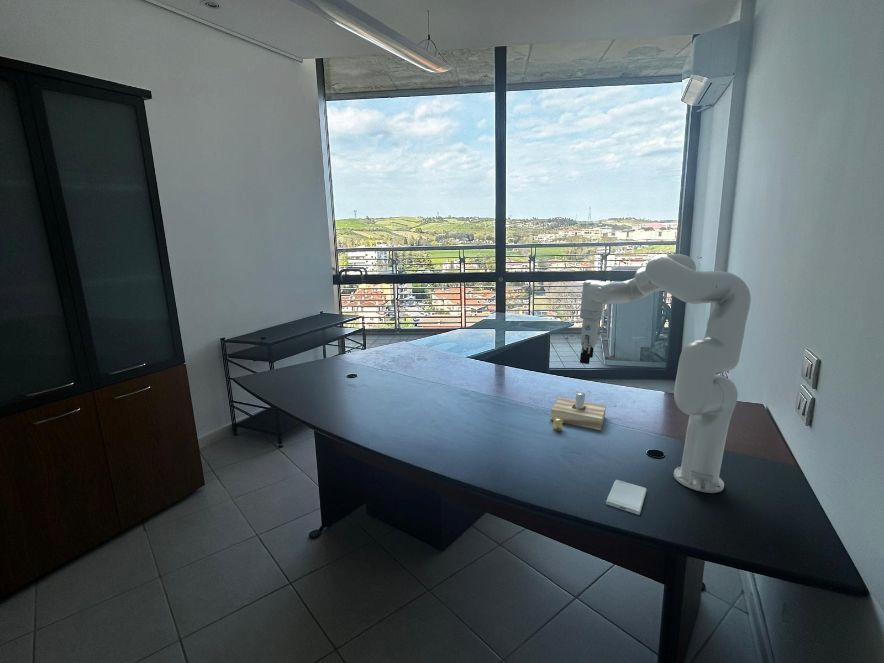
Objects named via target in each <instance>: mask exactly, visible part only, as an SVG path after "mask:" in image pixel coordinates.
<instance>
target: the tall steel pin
mask: <svg viewBox="0 0 884 663" xmlns="http://www.w3.org/2000/svg"><path fill="white" fill-rule="evenodd" d="M585 398H586V393H584V392H581V391H580V392H578V391H577V392H576V393H575V399H574V400H575V409H578V410H583V409H584V402H585Z"/></svg>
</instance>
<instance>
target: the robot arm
mask: <svg viewBox="0 0 884 663" xmlns="http://www.w3.org/2000/svg"><path fill="white" fill-rule="evenodd" d="M659 291H663V292H666V293H667V294H669V295H672V296H673V297H674V298H676V299H678V300H680V301H682V302H684V303H688V304H693V305H697V304H698V305H699V304H711V303H713V304H714V308H712V309H713V310H712V311H711V313H710V314H709V317H708V319H707V322H706V330H705V333H704V334H705V335H704V337H703V338H701V339H696V340H692V341H691V342H689V343H687V344H686V345H685V346H684V347H683V349H682V351H681V352H680V355H679V359H678V365H677V370H676V376H675V383H674V389H673V396H674V402H675V405H676V406H677V408H678V409H679V410H680V411H682V413H684V414H686V415H689V418H688V422H687V427H686V434H685V439H684V440H685V441H684V446H683V447H684V448H683V451H682V452H683V453H682V459H681V464H680V466H678V467H676V468H675V469H674V470H673V478H674V479H675V480H676V481H677V482H679V484H681V485H682V486H684V487H687V488H689V489H691V490H694V491H696V492H702V493H706V494H707V493H708V494H716V493H720V492H723V490H724V488H725V483H724V480H723V479H722V478H721V477H720V473H721V470H722V469H721V468H722V462H723V456H724V451H725V446H726V440H727V436H728V430H729V428H730V427H729V426H730V422H731V417H732V416H733V413H734V410H735V408H736V405H737V403H738V402H737V401H738V397H739V396H738V392H739V391H738V389H737V387H736V385H735V383H734V382H733V381H732V380H731V379H730V378H728V377H726V376H724V375H719V374H723V373H727V372H730V371H732V370H734V369H735V368H736V367H737V366H738V364H739V362H740V356H741V352H742V346H743V341H744V337H745V331H746V330H745V329H746V324H747V321H748V316H749V311H750V308H751V300H752V299H751V293H750V289H749V287H748V285H747V284H746V282H745V281H744V280H743V279H742V278H741V277H739V276H738V275H736V274H734V273H732V272H727V271H724V270H723V271H721V270H710V271H709V270H708V271H707V270H706V271H702V270H701V271H697V266H696V262H695V261H694V260H693V258H692V257H691V256H689V255H686V254H679V253H661V254H657V255H655V256H653V257H652V258H650V260H648V262H647V263H646V265H645V266H642V267H639V268H638V269H637V270H635V273H634V277H633V278H631V279H627V280H624V281H603V280H598V279H588V280H584V281H583V282H582V292H581V302H580V313H579V318H580V319H582V324H581V333H580V334H581V335H580V345H581V350H580V357H579V364H583V365H589V364H590V361H591V360H590V359H592V358H593V357H594V348H595V347H596V346H597V344H598V337H599V336H598V335H599V326H600V325H599V324H600V323H599V322H600V321H601V320H603V319H602V317H603V311H604V310H603V309H604V305H613V304H614V305H615V304H626V303H630V302H635V301H637V300H640V299H643V298H646V297H647V296H649V295H651V294H652V293H656V292H659Z"/></svg>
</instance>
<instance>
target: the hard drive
mask: <svg viewBox="0 0 884 663" xmlns="http://www.w3.org/2000/svg"><path fill="white" fill-rule="evenodd" d="M647 489H648V488H646V487H644V486H641V485H637V484H633V483H629V482H626V481H623V480H619V479H615V480H614V483H613V485H612V487H611V490H610V492H609V494H608V496H607V497H606V498H607V499H606V501H605V505H608V506H610V507H613V508H616V509H620V510H623V511H625V512H628V513H631V514H635V515H638V516H640V514H641V512H642V508H643V504H644V501H645V498H646V494H647V491H648V490H647Z"/></svg>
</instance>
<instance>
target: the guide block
mask: <svg viewBox="0 0 884 663" xmlns="http://www.w3.org/2000/svg"><path fill="white" fill-rule="evenodd" d="M575 400H576V399H570V398H565V397H559V396H558V398H557V400H556V401H555V402H554V405H553V406H552V407H551V409H550V421H553V422H554V418H556V417H558V418H562V419H563V424H566V425H573V426H578V427H581V428H582V427H583V428H587V429H592V430H596V431H597V430H598V431H602V428H603V424H604V421H605V418H606V409H607V406H606V405H604V404H598V403H593V402H589V401H588V402H587V401H584V409H583V410H578V409H575Z"/></svg>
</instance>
